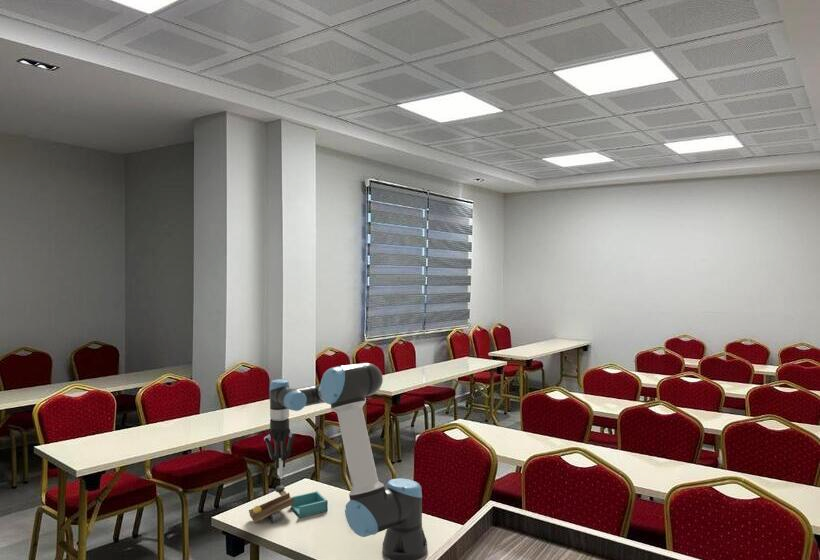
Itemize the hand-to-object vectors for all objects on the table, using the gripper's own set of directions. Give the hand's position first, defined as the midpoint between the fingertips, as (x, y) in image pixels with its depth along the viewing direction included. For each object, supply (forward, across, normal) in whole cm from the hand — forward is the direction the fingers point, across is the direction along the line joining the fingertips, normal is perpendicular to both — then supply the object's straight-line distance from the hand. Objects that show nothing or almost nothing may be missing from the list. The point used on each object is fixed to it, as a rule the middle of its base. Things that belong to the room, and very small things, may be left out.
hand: (280, 475), depth 227 cm
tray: (+11, -8, +12) cm, 18 cm away
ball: (+7, +13, +12) cm, 19 cm away
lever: (+9, +6, +7) cm, 13 cm away
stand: (+11, +7, +12) cm, 18 cm away
